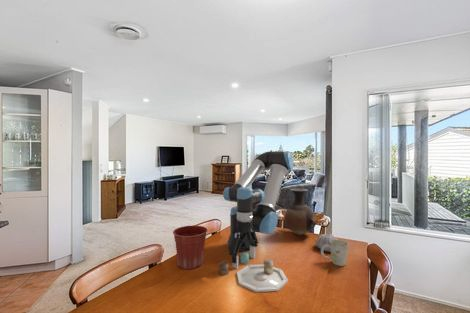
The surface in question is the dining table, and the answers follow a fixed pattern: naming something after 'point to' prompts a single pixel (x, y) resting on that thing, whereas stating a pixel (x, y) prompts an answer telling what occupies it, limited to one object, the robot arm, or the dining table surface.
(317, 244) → the sea urchin shell
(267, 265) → the beige wooden cylinder
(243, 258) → the teal bead
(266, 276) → the groove tray
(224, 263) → the walnut bead
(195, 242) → the flower pot
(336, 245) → the mug
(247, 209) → the robot arm
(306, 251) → the dining table surface
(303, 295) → the dining table surface
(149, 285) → the dining table surface
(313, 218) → the vase
